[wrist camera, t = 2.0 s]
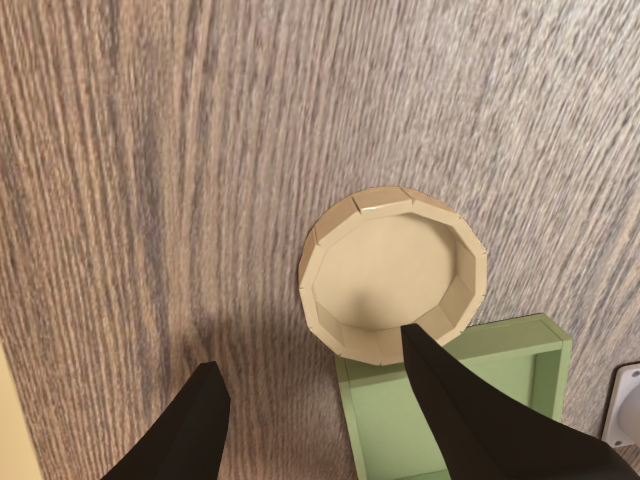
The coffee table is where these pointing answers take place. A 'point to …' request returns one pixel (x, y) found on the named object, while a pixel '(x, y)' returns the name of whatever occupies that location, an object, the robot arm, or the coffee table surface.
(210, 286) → the coffee table surface
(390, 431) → the tray
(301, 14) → the coffee table surface
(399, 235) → the beige round bowl
